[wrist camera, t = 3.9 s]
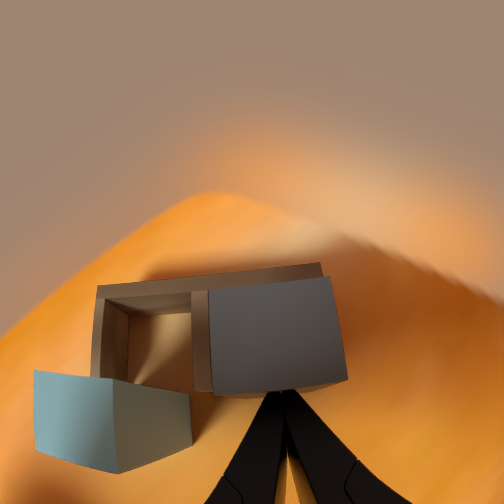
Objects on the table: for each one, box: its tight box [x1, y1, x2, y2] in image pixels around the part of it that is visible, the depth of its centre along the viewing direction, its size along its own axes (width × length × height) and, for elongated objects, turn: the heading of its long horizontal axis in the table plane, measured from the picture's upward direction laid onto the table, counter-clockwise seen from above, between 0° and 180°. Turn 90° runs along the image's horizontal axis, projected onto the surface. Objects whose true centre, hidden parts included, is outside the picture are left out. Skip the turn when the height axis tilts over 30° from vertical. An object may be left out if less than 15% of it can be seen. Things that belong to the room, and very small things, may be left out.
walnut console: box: [90, 262, 323, 393], centre depth 14 cm, size 6×12×3 cm, turn 95°
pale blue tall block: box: [34, 370, 193, 474], centre depth 10 cm, size 3×4×8 cm
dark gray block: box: [209, 276, 348, 399], centre depth 11 cm, size 3×4×8 cm
